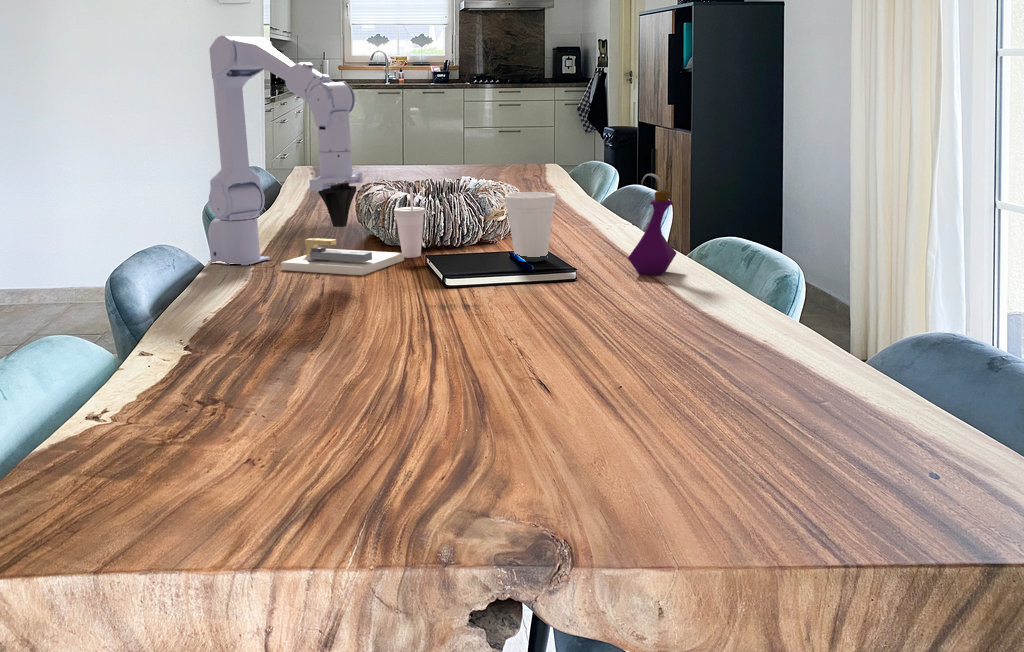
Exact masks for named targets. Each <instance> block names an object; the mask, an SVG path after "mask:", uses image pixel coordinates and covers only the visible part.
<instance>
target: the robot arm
mask: <svg viewBox="0 0 1024 652" xmlns="http://www.w3.org/2000/svg"><path fill="white" fill-rule="evenodd" d="M209 58H210V59H209V60H210V69H211V70H210V71H211V79H212V82H213V83H212V84H213V85H212V86H213V93H214V94H213V95H214V105H215V116H216V127H217V137H218V147H219V158H220V159H219V160H220V170H219V171H218V172H217V173H216V174H215V175H214V176H213V177H212V178H211V179H210V180H209V185H210V191H209V194H208V204H209V208H210V210H211V212H212V214H213V215H214V216H215V217H216V218H214V219H212V220H211V222H210V223H209V226H208V232H207V234H208V245H209V255H210V256H209V257H210V259H209V260H208V261H207V262H208V264H213V263H212V262H216V261H222V262H225V263H234V264H241V265H240V266H250V265H253V264H256V263H260V262H265V261H266V260H270V256H263V255H261V251H260V250H261V248H260V238H259V237H260V236H259V224H258V217H261V212H262V211H263V209H264V208H265V207H264V206H265V203H266V201H265V200H266V199H265V197H266V196H265V193H264V191H263V187H262V185H261V184H262V183H261V178H260V176H259V175H258V174H257V173H255V172H254V171H253V170H252V169H251V168H250V162H249V160H250V159H249V149H248V138H247V128H246V114H245V104H244V102H245V101H244V94H243V93H244V91H243V87H244V86H245V85H246V83H247V82H248V81H249V80H251V79H253V78H254V77H255V76H257V75H258V74H260V73H262V72H263V71H265V70H266V71H267V72H270V73H271V74H273V75H275V76H277V77H278V78H280V79H282V80H284V82H285V86H286V88H287V90H288V91H289V92H291V93H292V94H293V95H296V96H297V97H298V98H300V99H302V100H303V101H305V102H306V104H307V103H308V107H309V109H310V111H311V113H312V116H313V123H315V124H314V125H315V126H317V127H316V129H317V142H318V160H319V171H320V175H319V176H317V177H314V178H311V179H309V191H312V192H315V191H316V192H317V193H318V194H319V196H320V198H322V201H323V202H324V204H325V206H326V209H327V212H328V214H329V216H330V220H331V221H330V222H331V224H332V227H333V228H337V227H338V228H345V227H347V226H348V225H347V224H348V219H349V214H350V210H351V209H350V208H351V205H352V202H353V198H355V197H354V196H355V195H356V193H357V186H356V185H353V184H362V183H363V181H364V180H363V172H362V171H353V163H352V161H353V158H352V144H351V143H352V141H351V127H350V125H351V124H350V113H351V112H352V111H353V110H354V108H355V104H356V95H355V92H354V90H353V88H352V87H351V86H350V85H349V83H347V81H344V80H343V81H337V82H335V81H333V80H332V79H331V76H330V75H328V74H323V73H321V72H320V71H318V70H317V69H315V68H314V64H313V63H312V62H309V61H308V62H305V61H304V62H298V63H294V62H293V61H292V60H291V59H290V58H288V57H287V56H285V55H284V54H283V53H282V52H280V51H279V50H277V49H276V48H275V47H274V46H273V43H272V41H270V40H267V39H265V38H264V37H263V36H227V35H220V36H217V37H216V38H215V39H214V41H213V42H212V44H211V46H209ZM210 261H211V262H210ZM209 262H210V263H209ZM249 264H250V265H249Z"/></svg>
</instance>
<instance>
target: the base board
mask: <svg viewBox="0 0 1024 652" xmlns="http://www.w3.org/2000/svg"><path fill="white" fill-rule="evenodd" d="M326 250H340V249H336V248H334V249H333V248H326ZM342 250H343V251H359V249H358V250H354V249H342ZM361 251H362V252H372V260H369V261H366V262H354V261H338V260H321V259H310V256H306V254H304V255H302V256H298V257H295V258H291V259H288V260H284V261H281V262H280V266H281V267H280V269H281V271H288V272H289V271H291V272H292V271H293V272H306V273H307V272H308V273H320V274H321V273H324V274H337V275H338V274H339V275H354V276H365V275H367V274H371V273H373V272H375V271H378V270H381V269H385V268H387V267H389V266H392V265H395V264H399V263H400V262H403V261H405V257H404V253H402V252H395V251H393V252H391V251H389V252H388V251H374V250H361Z"/></svg>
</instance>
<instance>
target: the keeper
mask: <svg viewBox="0 0 1024 652" xmlns="http://www.w3.org/2000/svg"><path fill="white" fill-rule="evenodd" d="M304 244H305V255H306V256H310V251H311V248H313V247H320V246H335V245H337V244H338V243H337V239H336V238H335V239H333V238H319V237H318V238H317V237H316V238H315V237H310V238H305V239H304Z"/></svg>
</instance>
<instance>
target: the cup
mask: <svg viewBox="0 0 1024 652" xmlns="http://www.w3.org/2000/svg"><path fill="white" fill-rule="evenodd" d="M504 199H505V200H504V201H505V206H506V210H507V216H508V222H509V229H510V233H511V234H510V235H511V241H512V246H513V253H515V254H518V255H520V256H527V257H540V256H546V255H547V254H549V246H550V238H551V230H552V222H553V214H554V208H555V206H556V201H557V200H556V199H557V194H555V193H553V192H544V191H523V192H520V191H519V192H512V193H507V194H505V195H504ZM515 254H514V255H515Z"/></svg>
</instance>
